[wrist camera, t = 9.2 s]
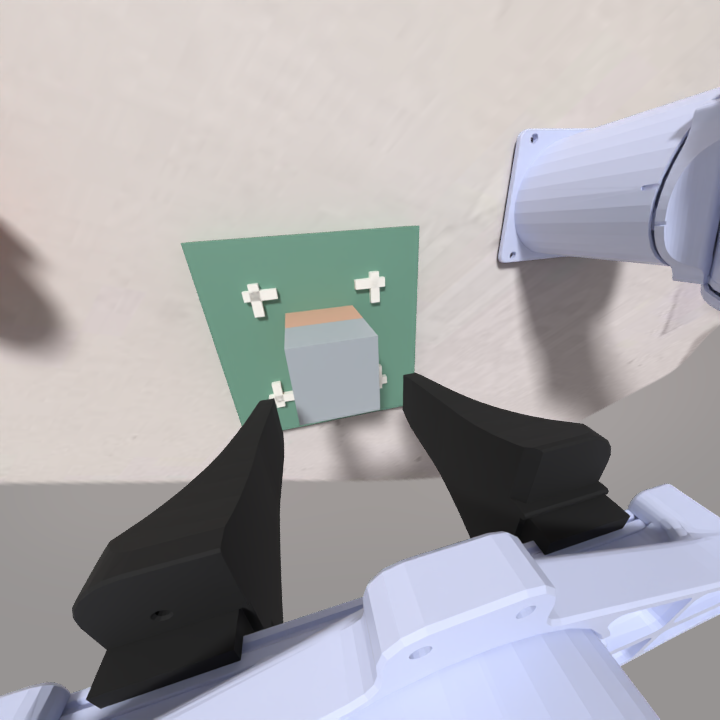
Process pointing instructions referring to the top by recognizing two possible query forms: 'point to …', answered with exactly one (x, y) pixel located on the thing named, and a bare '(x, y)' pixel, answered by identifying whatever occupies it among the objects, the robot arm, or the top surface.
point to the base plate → (305, 304)
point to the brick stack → (332, 363)
